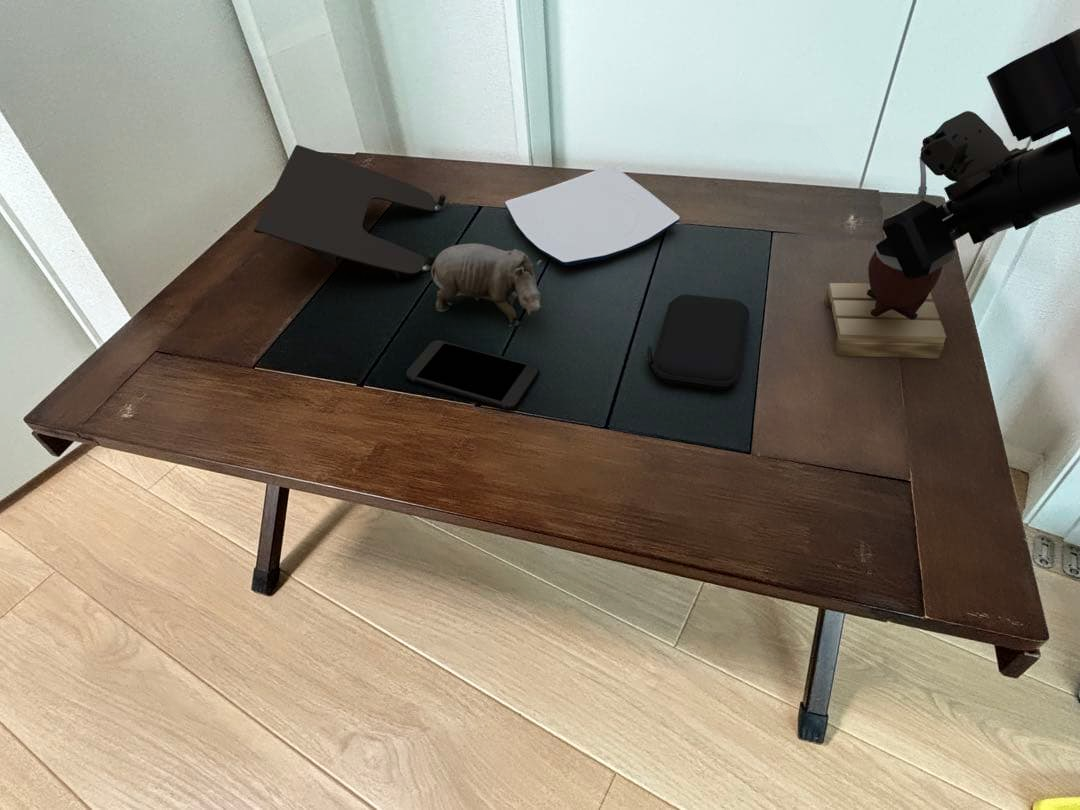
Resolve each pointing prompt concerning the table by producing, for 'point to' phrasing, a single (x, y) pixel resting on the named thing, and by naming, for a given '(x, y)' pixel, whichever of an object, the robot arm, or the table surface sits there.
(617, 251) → the plate
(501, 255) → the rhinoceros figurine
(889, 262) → the mate gourd
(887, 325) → the rack
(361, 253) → the laptop tray
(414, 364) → the smartphone
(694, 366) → the carrying case
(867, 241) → the table surface
